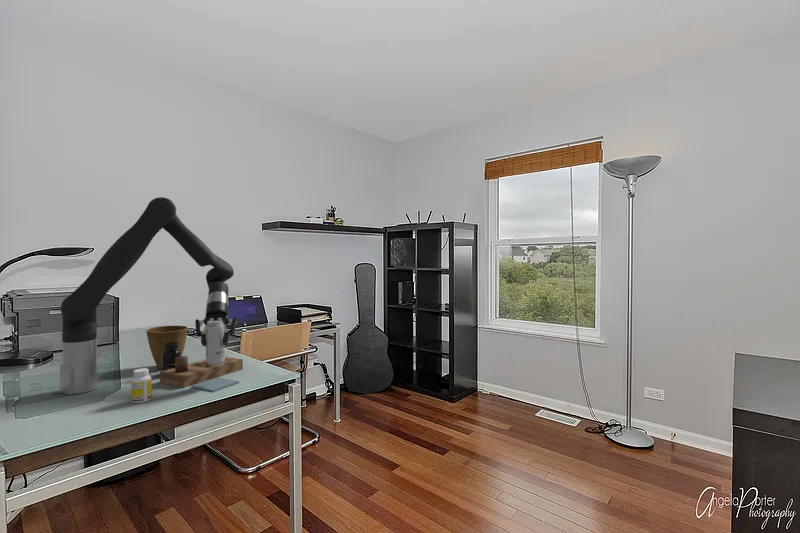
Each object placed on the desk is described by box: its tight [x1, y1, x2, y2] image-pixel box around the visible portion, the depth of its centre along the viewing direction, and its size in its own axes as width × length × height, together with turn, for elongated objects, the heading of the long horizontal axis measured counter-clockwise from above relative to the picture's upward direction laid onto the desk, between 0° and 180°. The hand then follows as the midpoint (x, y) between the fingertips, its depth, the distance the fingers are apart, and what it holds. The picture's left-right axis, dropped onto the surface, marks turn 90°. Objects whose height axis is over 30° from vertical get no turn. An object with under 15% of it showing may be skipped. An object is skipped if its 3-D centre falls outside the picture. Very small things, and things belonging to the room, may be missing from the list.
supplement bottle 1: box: [130, 367, 153, 404], centre depth 129 cm, size 5×5×10 cm
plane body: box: [159, 355, 244, 389], centre depth 156 cm, size 26×13×9 cm, turn 154°
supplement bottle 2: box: [160, 342, 181, 372], centre depth 158 cm, size 7×7×12 cm
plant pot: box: [146, 325, 189, 370], centre depth 168 cm, size 15×15×16 cm
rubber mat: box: [191, 377, 240, 393], centre depth 144 cm, size 11×11×1 cm
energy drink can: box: [204, 321, 226, 366], centre depth 144 cm, size 6×6×15 cm
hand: (214, 344), depth 143 cm, fingers closed on energy drink can, 6 cm apart
